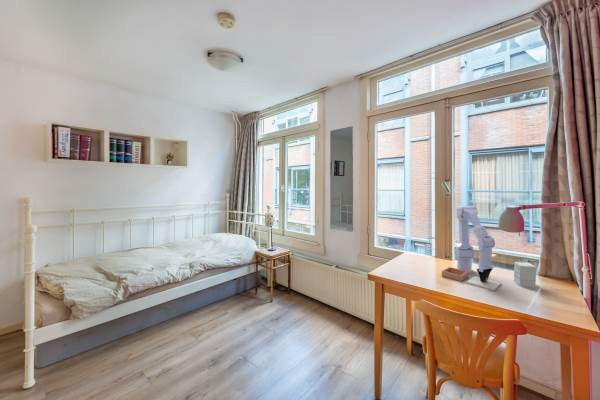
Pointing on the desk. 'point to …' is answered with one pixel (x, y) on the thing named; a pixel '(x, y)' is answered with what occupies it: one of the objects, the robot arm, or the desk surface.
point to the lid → (484, 283)
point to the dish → (455, 274)
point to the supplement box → (524, 274)
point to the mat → (485, 288)
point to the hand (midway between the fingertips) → (484, 280)
